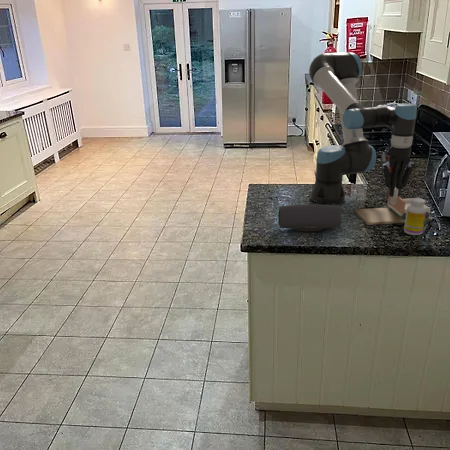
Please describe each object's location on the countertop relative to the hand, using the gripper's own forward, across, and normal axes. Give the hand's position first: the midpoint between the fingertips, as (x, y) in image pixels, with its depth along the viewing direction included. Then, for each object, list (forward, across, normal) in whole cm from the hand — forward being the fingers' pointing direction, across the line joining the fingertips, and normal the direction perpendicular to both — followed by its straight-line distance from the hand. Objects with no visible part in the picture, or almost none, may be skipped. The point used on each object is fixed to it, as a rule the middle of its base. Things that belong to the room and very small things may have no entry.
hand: (393, 203), depth 180 cm
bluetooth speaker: (+6, -37, -7) cm, 38 cm away
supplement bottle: (+6, +1, -16) cm, 17 cm away
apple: (+6, +27, +55) cm, 62 cm away
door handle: (+6, +36, +75) cm, 83 cm away
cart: (+4, +7, 0) cm, 8 cm away
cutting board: (+5, 0, 0) cm, 5 cm away
